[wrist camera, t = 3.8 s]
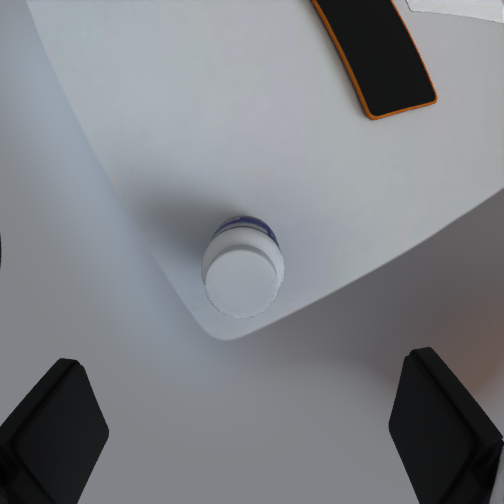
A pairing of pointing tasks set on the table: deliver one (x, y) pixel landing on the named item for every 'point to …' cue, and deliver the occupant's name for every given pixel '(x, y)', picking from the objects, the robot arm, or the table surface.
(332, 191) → the table surface
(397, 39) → the smartphone
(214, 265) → the pill bottle
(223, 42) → the table surface
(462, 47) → the table surface
